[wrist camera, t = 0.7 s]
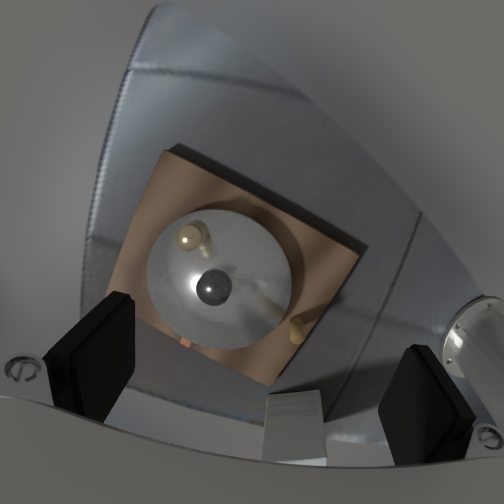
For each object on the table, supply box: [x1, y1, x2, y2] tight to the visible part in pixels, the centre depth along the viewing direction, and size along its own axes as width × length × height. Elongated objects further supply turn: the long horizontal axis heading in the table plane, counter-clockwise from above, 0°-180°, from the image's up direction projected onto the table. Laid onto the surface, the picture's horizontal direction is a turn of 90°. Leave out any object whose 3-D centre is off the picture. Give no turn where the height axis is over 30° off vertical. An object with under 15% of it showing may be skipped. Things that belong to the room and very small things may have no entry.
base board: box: [105, 149, 359, 387], centre depth 35 cm, size 24×20×5 cm
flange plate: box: [147, 208, 292, 349], centre depth 33 cm, size 16×17×5 cm
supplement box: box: [260, 390, 328, 466], centre depth 35 cm, size 7×7×13 cm
